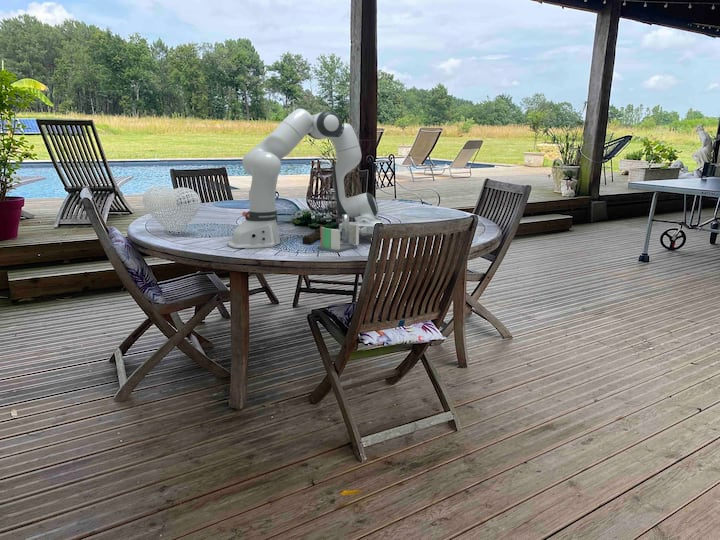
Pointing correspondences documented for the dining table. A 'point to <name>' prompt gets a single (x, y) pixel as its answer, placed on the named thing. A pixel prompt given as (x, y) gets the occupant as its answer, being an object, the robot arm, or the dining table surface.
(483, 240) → the dining table surface
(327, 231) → the base
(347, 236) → the gauge lever
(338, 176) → the robot arm
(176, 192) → the heart
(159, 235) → the dining table surface
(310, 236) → the hand tool
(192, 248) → the dining table surface
